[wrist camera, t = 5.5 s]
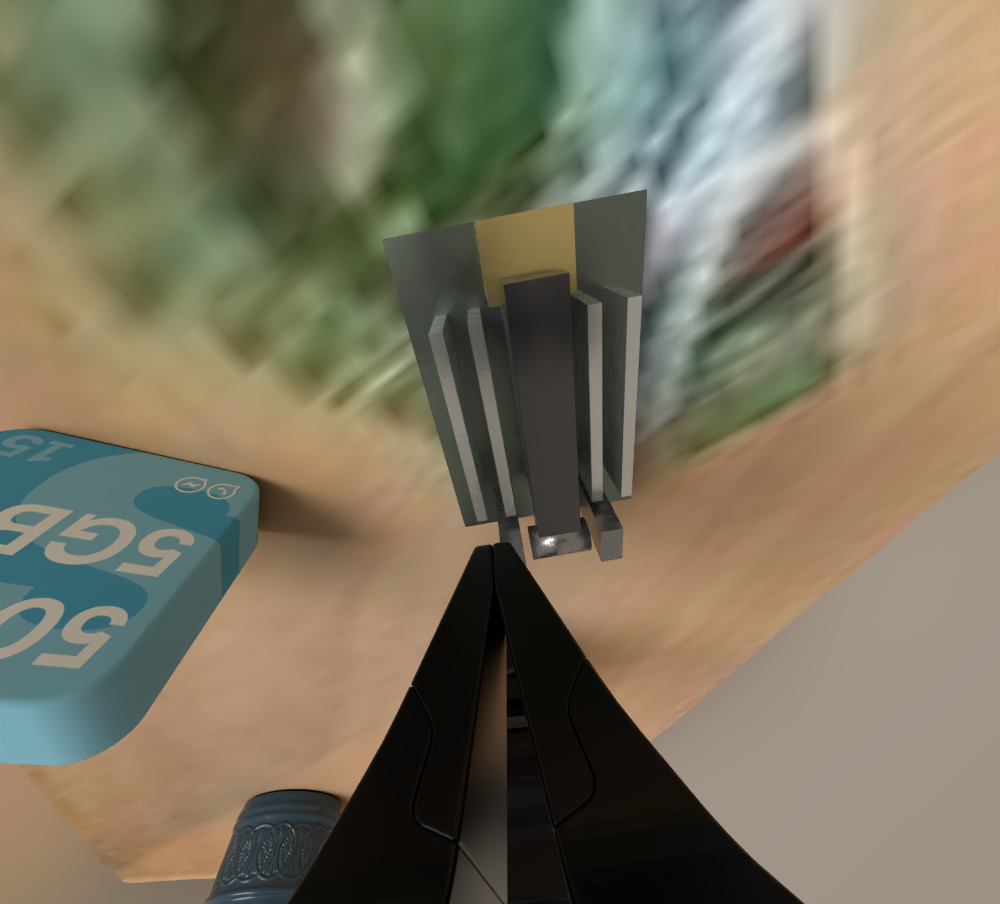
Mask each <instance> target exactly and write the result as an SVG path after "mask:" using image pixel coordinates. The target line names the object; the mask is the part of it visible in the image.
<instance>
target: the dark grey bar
mask: <svg viewBox="0 0 1000 904" xmlns="http://www.w3.org/2000/svg"><path fill="white" fill-rule="evenodd" d="M501 283H502V290H503V297H504V304H505V312H506V319H507V326H508V333H509V340H510V347H511V354H512V361H513V368H514V375H515V382H516V389H517V396H518V403H519V410H520V417H521V425H522V432H523V439H524V446H525V453H526V460H527V467H528V474H529V481H530V488H531V495H532V502H533V509H534V516H535V523H536V525H534V526H528V533H529V539H530V544H531V550H532V555H533V559H534V560H535V559H541V558H547V557H553V556H558V555H564V554H570V553H576V552H582V551H588V550H591V548H592V544H591V537H590V532H589V528H588V525H587V522H586V520H585V518H584V517H581V518H580V507H579V484H578V460H577V437H576V413H575V390H574V367H573V343H572V320H571V296H570V273H569V272H568V271H566V270H564V269H562V270H556V271H551V272H545V273H540V274H535V275H529V276H524V277H519V278H513V279H508V280H502V281H501Z"/></svg>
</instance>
